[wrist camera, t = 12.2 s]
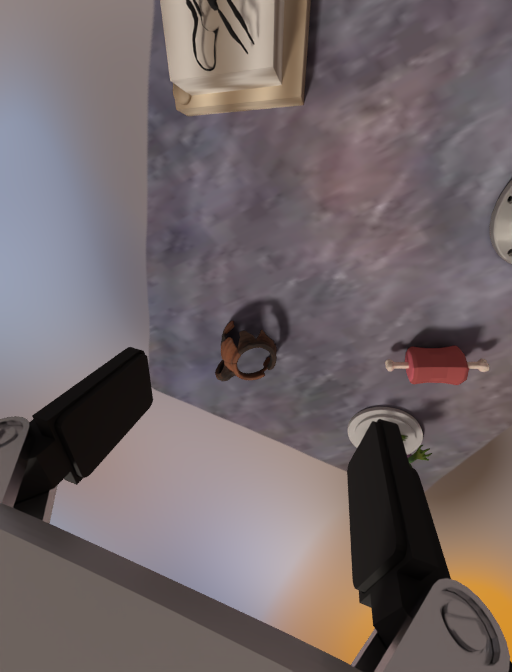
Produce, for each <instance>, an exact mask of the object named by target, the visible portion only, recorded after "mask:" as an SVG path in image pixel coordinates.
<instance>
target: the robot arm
mask: <svg viewBox="0 0 512 672" xmlns="http://www.w3.org/2000/svg"><path fill="white" fill-rule="evenodd" d="M509 196H510V200H509V201H507V199H508V197H509ZM490 239H491V242H492V246H493V248H494V249H495V251H496V252H497V254H498V255H499V256H500V257H501V258H502V259H503V260H505V261H506V262H508V263H510V264H512V180H511V181H510V182H509V184H508V185H507V186H506V187H505V189H504V191H503V192H502V194H501V195H500V197H499V199H498V200H497V203H496V205H495V208H494V210H493V212H492V216H491V221H490ZM509 250H510V252H508V251H509ZM152 402H153V397H152V389H151V382H150V374H149V367H148V359H147V356H146V355H145V353H144V351H142V350H138V349H135V348H132V347H128V348H127V349H125V350H124V351H122V352H121V353H119V354H118V355H117V356H115V357H114V358H113V359H111V360H110V361H108V362H107V363H105V364H104V365H103V366H101V367H100V368H98V369H97V370H96V371H94V372H93V373H91V374H90V375H89V376H87V377H86V378H84V379H83V380H82V381H80V382H79V383H77V384H76V385H75V386H73V387H72V388H70V389H69V390H68V391H66V392H65V393H63V394H62V395H61V396H59V397H58V398H56V399H55V400H54V401H52V402H51V403H49V404H48V405H47V406H45V407H44V408H42V409H41V410H40V411H38V412H37V413H35V414H34V415H33V418H34V419H33V420H32V421H31V422H28V420H27V419H25V418H23V417H16V416H15V417H7V418H3V419H0V672H512V663H511V661H510V656H509V651H508V647H507V643H506V640H505V638H504V635H503V633H502V631H501V629H500V626H499V624H498V623H497V621H496V620H495V618H494V617H493V615H492V613H491V612H490V610H489V609H488V608H487V607H486V606H485V604H484V603H483V602H482V601H481V600H480V598H479V597H478V596H476V595H475V594H474V593H473V592H472V591H471V590H470V589H468V588H467V587H466V586H464V585H462V584H461V583H459V582H457V581H455V580H451V578H450V574H449V571H448V568H447V565H446V562H445V558H444V556H443V552H442V549H441V546H440V542H439V539H438V536H437V533H436V529H435V526H434V523H433V519H432V516H431V513H430V510H429V507H428V503H427V500H426V497H425V494H424V490H423V487H422V484H421V481H420V478H419V475H418V473H417V471H416V470H415V469H413V468H411V467H410V464H409V461H408V457H407V454H406V450H405V447H404V443H403V440H402V436H401V433H400V429H399V426H398V425H397V424H396V423H393V422H389V421H386V420H382V419H378V420H377V422H375V421H372V422H371V424H370V426H369V428H368V429H367V431H366V433H365V435H364V437H363V439H362V440H361V442H360V444H359V446H358V448H357V450H356V451H355V453H354V455H353V457H352V459H351V460H350V462H349V465H348V470H347V475H348V495H349V513H350V514H349V516H350V535H351V555H352V576H353V584H354V587H355V589H357V590H359V601H360V603H362V604H364V605H366V606H369V607H371V608H372V618H373V626H374V627H375V629H374V631H373V632H372V634H371V635H370V637H369V638H368V640H367V641H366V643H365V644H364V646H363V647H362V649H361V650H360V652H359V653H358V655H357V656H356V658H355V659H354V661H353V662H352V664H351V665H349V664H348V663H346V662H344V661H342V660H340V659H338V658H336V657H333V656H332V655H330V654H328V653H326V652H323V651H322V650H319V649H318V648H316V647H313V646H311V645H309V644H307V643H305V642H303V641H301V640H299V639H297V638H295V637H293V636H291V635H289V634H287V633H285V632H283V631H281V630H279V629H277V628H274V627H272V626H270V625H268V624H266V623H263V622H262V621H259V620H257V619H255V618H253V617H251V616H249V615H247V614H244V613H242V612H240V611H238V610H236V609H234V608H231V607H229V606H227V605H225V604H223V603H221V602H219V601H217V600H214V599H212V598H210V597H208V596H206V595H204V594H202V593H199V592H197V591H195V590H193V589H191V588H188V587H186V586H184V585H182V584H180V583H178V582H175V581H173V580H171V579H169V578H167V577H165V576H162V575H160V574H158V573H156V572H154V571H152V570H150V569H147V568H145V567H143V566H141V565H139V564H136V563H134V562H132V561H130V560H128V559H126V558H124V557H121V556H119V555H117V554H115V553H113V552H110V551H108V550H106V549H104V548H102V547H99V546H97V545H95V544H93V543H91V542H89V541H86V540H84V539H82V538H80V537H77V536H75V535H73V534H71V533H69V532H66V531H64V530H62V529H60V528H58V527H55V526H53V525H51V524H49V523H50V518H51V514H52V509H53V504H54V499H55V495H56V490H57V485H58V484H59V483H60V482H61V481H62V480H63V479H65V480H67V481H69V482H71V483H74V484H76V485H77V484H78V483H79V481H81V480H82V479H83V478H85V477H87V476H89V475H90V474H91V473H92V472H93V471H94V469H95V468H96V467H97V466H98V465H99V464H100V463H101V462H102V461H103V459H104V458H105V457H106V456H107V455H108V454H109V453H110V451H111V450H112V449H113V448H114V447H115V446H116V445H117V444H118V443H119V442H120V440H121V439H122V438H123V437H124V436H125V435H126V434H127V432H128V431H129V430H130V429H131V428H132V427H133V426H134V424H135V423H136V422H137V421H138V420H139V419H140V418H141V416H143V414H144V413H145V412H146V411H147V410H148V409H149V408H150V406H151V405H152Z"/></svg>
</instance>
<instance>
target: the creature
mask: <svg viewBox="0 0 512 672" xmlns="http://www.w3.org/2000/svg"><path fill="white" fill-rule="evenodd" d="M207 1H208V3H209V5H210V7H211V8H212V9H213V10H214V11H217V10H218V13H219V15H220V17H221V19H222V21H223V23H224V24H225V26H226V28H227V30H228V32H229V33H230V35H231V36H232V38H233V39H235V40H236V42H237V43H239V44H240V45H241V46H242V48H243V49H244V51H245V52H246V53H247V55H248V52H247V50H246V48H245V47H244V45H243V44H242V42H241V41H240V39H239V38H238V36H237V35H236V33H235V32H234V31H233V29H232V27H231V25H230V23H229V22H228V20H227V19H226V17H225V16H224V15H223V13H222V12H221V10H220V9H219V7H218V4H217V0H207ZM193 2H194V5H195V7H196V9H197V11H198V13H199V15H200V17H201V21H202V14H201V11H200V8H199V6H198V4H197V2H196V0H193ZM227 2H228V4H229V6H230V7H231V9H232V11H233V13H234V15H235V17H236V18H237V19H238V21H239V22H240V24H241V25H242V27H243V28H244V30H245V31H246V33H247V35H248V37H249V39H250V40H251V42H252V43H253V45H254V44H255V43H254V41H253V39H252V37H251V36H250V34H249V32H248V28H247V26H246V23H245V21H244V19H243V17H242V16H241V14H240V13H239V11H238V9H237V8H236V7H235V5H234V4H233V2H232V1H231V0H227ZM186 5H187V6H188V8H189V9H190V10H191V12H192V16H193V18H194V29H193V34H192V42H193V52H194V55H195V58H196V61H197V63H198V64H199V66H200V67H201V68H202V69H204V70H205V71H212V70H214V68H215V65H216V58H215V41H216V36H217V31H218V28H217V29H216V30H214V31H213V32H214V34H215V39H214V65H213V68H210V69H206V68H204V67H203V66H202V65H201V63H200V62H199V61H198V59H197V52H196V42H195V38H196V33H197V27H198V16H197V12H196V10H195V8H194V6H193V4H192V2H191V1H190V0H186ZM202 26H203V23H202ZM203 27H204V26H203ZM204 28H205V27H204ZM205 29H206V28H205ZM206 30H207V29H206ZM208 31H209V30H208Z"/></svg>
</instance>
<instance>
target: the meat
mask: <svg viewBox="0 0 512 672" xmlns="http://www.w3.org/2000/svg"><path fill="white" fill-rule="evenodd" d="M385 364H386V368H387V370H388V371H392V370H393V369H394V368H406V372H407V375H408V378H409V380H410V382H411V383H412V384H418V383H426V382H435V383H448V384H454V385H459V384H461V383H463V382H464V381H465V380H467V376H468V371H469V369H479V370H480V371H481V372H486V371H489V364H488V363H487V361H486V360H485V359H480V360H479V361H478V362H467V361H466V358H465V355H464V354H463V352H462V351H461V350H460V349H459V347H457V346H450V347H444V348H419V347H410V348H408V350H407V352H406V356H405V362H393V361H392V360H390V359H389V360H387V361H386V362H385Z"/></svg>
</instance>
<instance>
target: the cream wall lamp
mask: <svg viewBox="0 0 512 672" xmlns="http://www.w3.org/2000/svg"><path fill="white" fill-rule="evenodd" d="M190 1H191V2H192V4H193V6H194V8H195V10H196V12H197V16H198V27H197V33H196V38H195V42H196V52H197V59H198V61H199V62H200V63H201V65H202V66H203V67H204V68H206V69H210V68H213V65H214V39H215V34H214V32H213V31H214V30H216V29H217V28H218V31H217V36H216V41H215V58H216V65H215V68H214V70H212V71H205V70H204V69H202V68H201V67H200V66H199V64H198V63H197V61H196V58H195V55H194V52H193V42H192V34H193V29H194V18H193V16H192V12H191V10H190V9H189V8H188V6H187V5H186V0H160V3H161V10H162V18H163V26H164V34H165V42H166V50H167V58H168V66H169V74H170V81H171V82H173V95H174V98H175V103H176V110H178V111H180V112H181V113H183V114H185V115H187V116H194V115H204V114H215V113H225V112H236V111H246V110H257V109H267V108H278V107H288V106H299V105H304V91H305V76H306V62H307V47H308V33H309V18H310V4H311V0H231V1H232V2H233V4H234V5H235V7H236V8H237V9H238V11H239V13H240V14H241V16H242V17H243V19H244V21H245V23H246V26H247V28H248V32H249V34H250V36H251V37H252V39H253V41H254V43H255V44H254V45H253V43H252V42H251V40H250V39H249V37H248V35H247V33H246V31H245V30H244V28H243V27H242V25H241V24H240V22H239V21H238V19H237V18H236V17H235V15H234V13H233V11H232V9H231V7H230V6H229V4H228V2H227V0H217V4H218V7H219V9H220V10H221V12H222V13H223V15H224V16H225V17H226V19H227V20H228V22H229V23H230V25H231V27H232V29H233V31H234V32H235V33H236V35H237V36H238V38H239V39H240V41H241V42H242V44H243V45H244V47H245V48H246V50H247V52H248V55H247V53H246V52H245V51H244V49H243V48H242V46H241V45H240V44H239V43H237V42H236V40H235V39H233V38H232V36H231V35H230V33H229V32H228V30H227V28H226V26H225V24H224V23H223V21H222V19H221V17H220V15H219V13H218V10H217V11H214V10H213V9H212V8H211V7H210V5H209V3H208V1H207V0H196V2H197V4H198V6H199V8H200V11H201V14H202V21H201V17H200V15H199V13H198V11H197V9H196V7H195V5H194V2H193V0H190ZM202 23H203V26H204V27H205V28H206V29H207V30H206V29H205V28H204V27H203V26H202ZM208 30H209V31H208Z"/></svg>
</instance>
